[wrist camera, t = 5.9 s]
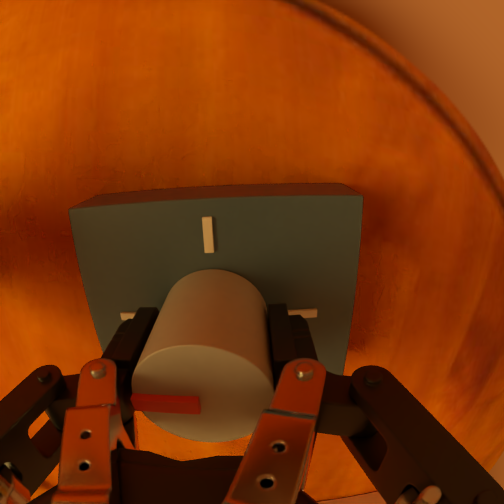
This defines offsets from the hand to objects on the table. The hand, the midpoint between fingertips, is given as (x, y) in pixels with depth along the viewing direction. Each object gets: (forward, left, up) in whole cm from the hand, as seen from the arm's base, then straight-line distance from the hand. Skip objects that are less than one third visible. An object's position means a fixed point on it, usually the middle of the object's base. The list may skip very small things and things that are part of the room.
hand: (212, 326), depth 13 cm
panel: (0, 0, -4) cm, 4 cm away
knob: (0, 0, -1) cm, 1 cm away
